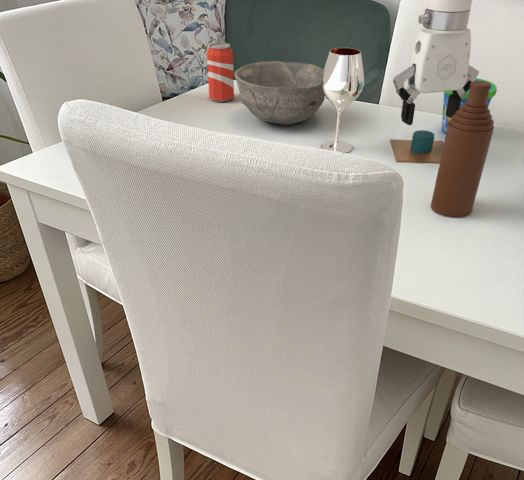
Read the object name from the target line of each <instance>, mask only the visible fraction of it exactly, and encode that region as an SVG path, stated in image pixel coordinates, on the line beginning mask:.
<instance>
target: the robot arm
mask: <svg viewBox="0 0 524 480" xmlns="http://www.w3.org/2000/svg"><path fill="white" fill-rule="evenodd" d="M472 4H473V0H426V7H425V9H424V14H420V15H419V16H418V20H417V22H418V24H419V25H422V27H423V28H420V29H419V31H418V33H417V37H416V40H415V42H414V43H415V44H414V46H413V51H412V55H411V59H410V64H409V67H407V68H406V69H404V70H403V71H401V72H400V73H399V74H397V75H396V76H394V77H393V78H392V82H393V85H394V88H395V92H396V93H397V95H398V96H399V98H400V99H401V101H402V105H401V112H400V118H401V122H402V123H404V124H405V125H407V126H412V125H413V124H414V123H413V122H414V115H415V111H416V103H415V102H414V101H415V100H416V99H417V97H418V96H419V95H420V94H434V93H444V92H445V91H452V94H450V96H449V98H448V104H447V109H446V116H447V117H449V118H451V117H452V116H453V115H455V113H456V111H458V110H459V108H460V104H461V99H462V98H464V97H465V95H466V92H467V91H468V90H469V89H470V83H471V82H473V81H475V79H476V78H478V76H479V73H480V70H478V69H476V68H474V66H472V65H470V58H471V49H472V46H471V45H472V31H471V29H470V28H468V24H469V19H470V13H471V9H472ZM406 81H407V87H406V88H405V84H404V83H405V82H406Z"/></svg>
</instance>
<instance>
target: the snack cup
mask: <svg viewBox="0 0 524 480" xmlns="http://www.w3.org/2000/svg"><path fill="white" fill-rule="evenodd" d="M475 81H486V82H489V83H490V84H491V88H490V91H489V94H488V98H487V102H486V104H487V105H488V107H489V105H490V103H491V101H492V99H493V97H494V96H496V95H497V92H498V90H497V85H496V84H495V83H494V82H491V81H489V80H487V79H484V78H478V77H476V79H475ZM469 90H470V89H469ZM469 90H468V91H467V92H466V95H465V97H464V98H462V99H461V104H460V107H461V106H463V105H464V103H465V102H467V99H468V95H469ZM450 94H452V91H445V92H443V98H442V99H443V100H442V115H441V116H442V118H441V132H442V133H443V134H446V132H447V127H448V123H449V121H450V120H451V118H449V117H447V116H446V109H447V104H448V98H449V96H450Z"/></svg>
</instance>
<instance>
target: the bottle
mask: <svg viewBox="0 0 524 480" xmlns="http://www.w3.org/2000/svg"><path fill="white" fill-rule="evenodd" d="M489 82H490V81H489ZM489 82H486V81H473V82H471V83H470V90H469V95H468V99H467V102H465V103H464V105H463V106H461V107H460V108H459V110H458V111H456V113H455V115H453V116H452V117H451V120H450V121H449V123H448V127H447V132H446V133H445V136H444V140H443V142H444V146H443V151H442V155H441V160H440V163H439V164H438V168H437V169H438V170H437V175H436V179H435V182H434V183H435V185H434V189H433V193H432V197H431V201H430V209H431V210H432V212H434V213H436V214H438V215H440V216H443V217H447V218H455V219H456V218H458V219H459V218H465V217H468V216H470V215H471V214H472V212H473V208H474V205H475V201H476V197H477V192H478V191H479V186H480V182H481V178H482V175H483V171H484V167H485V164H486V159H487V156H488V152H489V148H490V145H491V141H492V138H493V134H494V130H495V125H494V124H495V122H494V119H493V115H492V114H491V110H490V109H489V106H488V105H487V104H486V102H487V98H488V94H489V91H490V88H491V84H490V83H489Z"/></svg>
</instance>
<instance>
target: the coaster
mask: <svg viewBox="0 0 524 480" xmlns="http://www.w3.org/2000/svg"><path fill="white" fill-rule="evenodd" d="M389 142H390V146H391V149H392V152H393V155H394V159H395V161H396V163H423V164H440V160H441V155H442V151H443V146H444V140H434V141H433V146H432V151H431V152H430V153H427V154H419V153H415V152H413V151H412V150H411V143H412V139H389Z"/></svg>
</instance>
